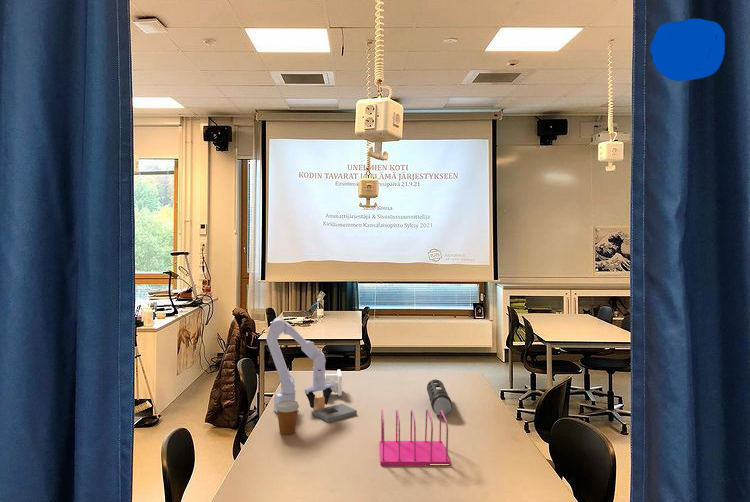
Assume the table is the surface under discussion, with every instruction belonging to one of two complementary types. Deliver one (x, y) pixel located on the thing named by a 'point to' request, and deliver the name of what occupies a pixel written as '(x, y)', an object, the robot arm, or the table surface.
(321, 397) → the orange rectangular block
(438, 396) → the perforated grey cylinder
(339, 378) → the cable organizer
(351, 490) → the table surface
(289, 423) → the disposable coffee cup
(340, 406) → the socket plate
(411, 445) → the file sorter
